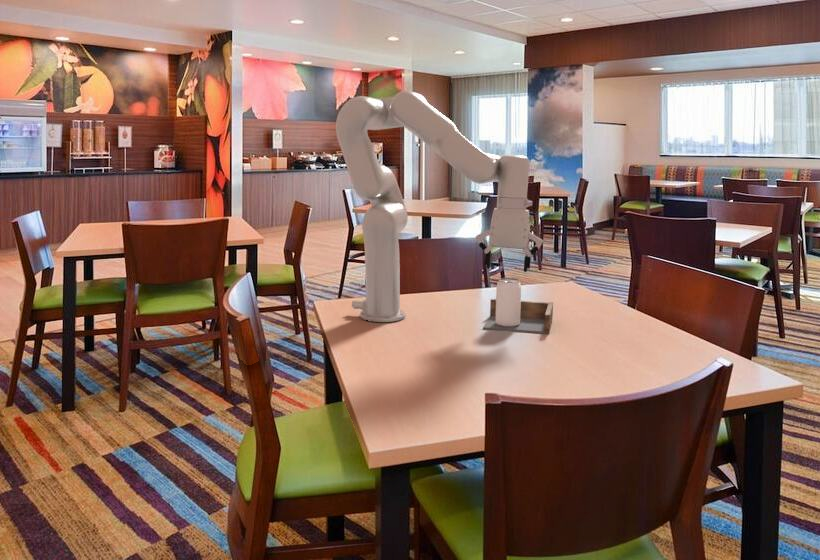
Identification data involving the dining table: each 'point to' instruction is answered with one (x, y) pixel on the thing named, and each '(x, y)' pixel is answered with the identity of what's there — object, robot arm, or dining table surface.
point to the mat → (524, 326)
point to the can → (508, 302)
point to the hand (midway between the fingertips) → (507, 269)
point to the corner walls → (532, 311)
